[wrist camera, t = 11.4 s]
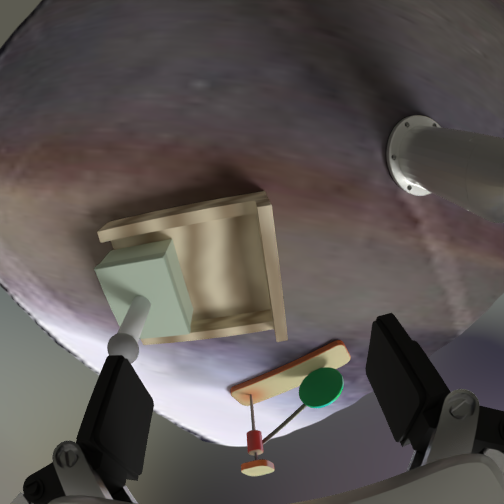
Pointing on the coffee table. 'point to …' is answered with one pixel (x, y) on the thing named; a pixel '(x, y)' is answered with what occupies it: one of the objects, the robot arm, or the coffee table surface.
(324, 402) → the crank mechanism
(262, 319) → the bay
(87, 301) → the coffee table surface
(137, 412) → the robot arm
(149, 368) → the coffee table surface
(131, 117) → the coffee table surface
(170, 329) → the green joystick
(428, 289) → the coffee table surface
